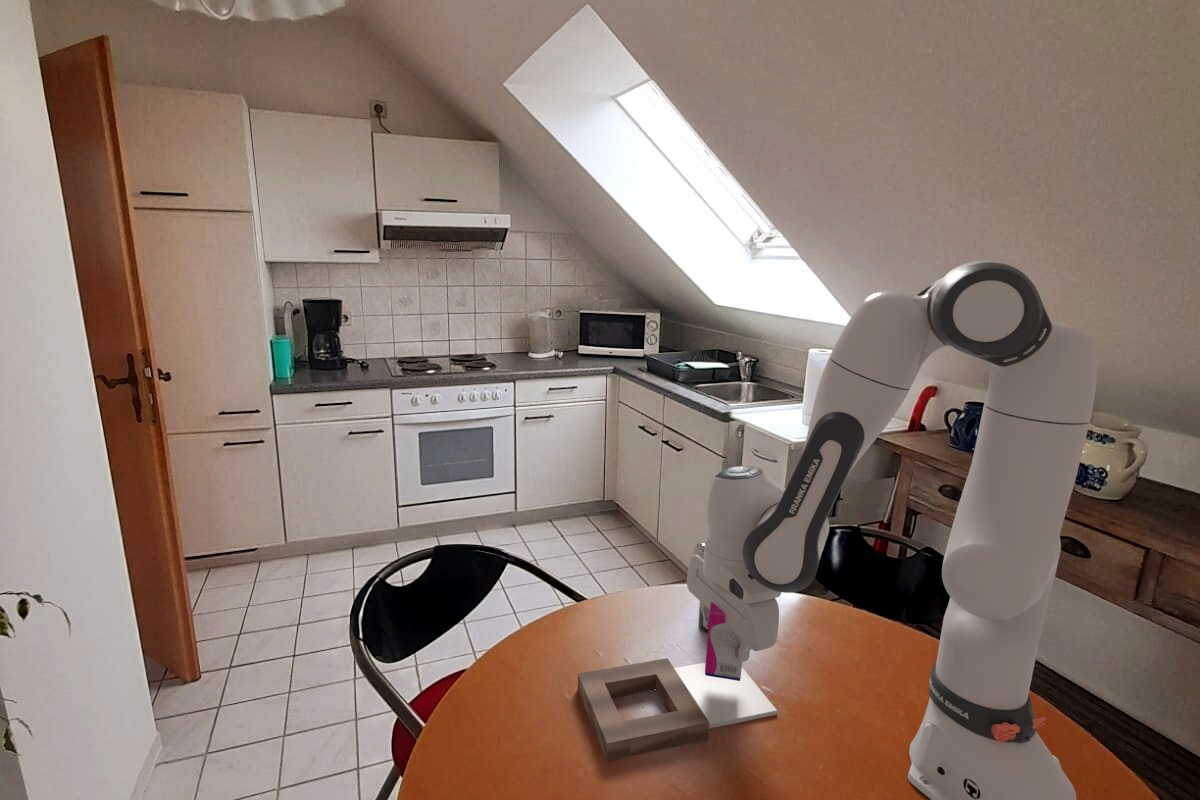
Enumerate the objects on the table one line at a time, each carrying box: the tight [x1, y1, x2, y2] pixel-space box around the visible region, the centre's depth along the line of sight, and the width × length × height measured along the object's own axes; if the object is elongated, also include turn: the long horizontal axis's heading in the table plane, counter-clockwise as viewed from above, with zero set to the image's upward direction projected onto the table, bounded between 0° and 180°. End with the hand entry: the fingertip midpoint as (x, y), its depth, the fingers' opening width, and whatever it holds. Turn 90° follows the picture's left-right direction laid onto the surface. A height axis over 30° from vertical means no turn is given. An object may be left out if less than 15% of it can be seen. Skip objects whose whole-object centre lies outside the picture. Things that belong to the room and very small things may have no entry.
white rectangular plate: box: [674, 662, 778, 730], centre depth 105 cm, size 14×12×1 cm
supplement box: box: [704, 602, 743, 681], centre depth 103 cm, size 6×6×12 cm
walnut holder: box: [577, 657, 710, 762], centre depth 100 cm, size 16×16×3 cm
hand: (724, 642), depth 104 cm, fingers closed on supplement box, 8 cm apart
